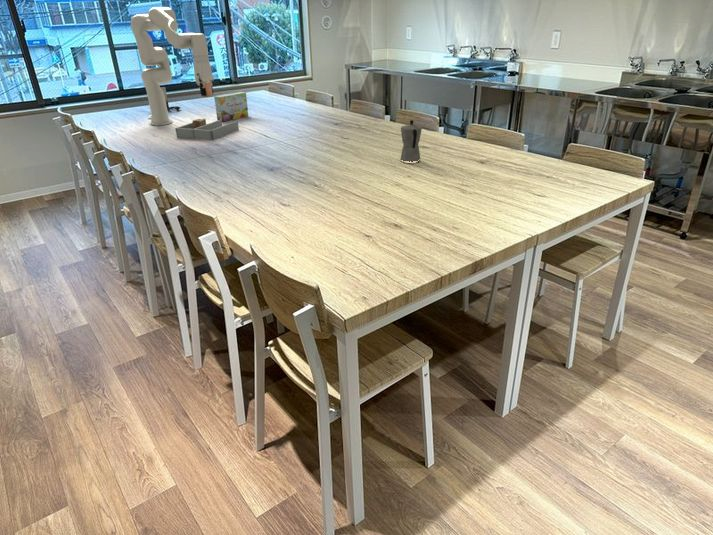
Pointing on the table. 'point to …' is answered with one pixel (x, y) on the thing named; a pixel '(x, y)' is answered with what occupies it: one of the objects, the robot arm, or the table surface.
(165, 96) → the milk frother
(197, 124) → the walnut block
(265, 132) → the table surface
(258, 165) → the table surface
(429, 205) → the table surface
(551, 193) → the table surface
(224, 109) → the snack box
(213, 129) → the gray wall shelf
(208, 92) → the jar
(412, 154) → the coffeepot
